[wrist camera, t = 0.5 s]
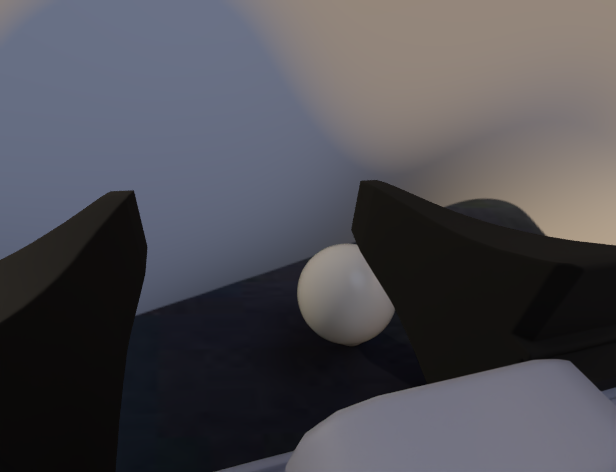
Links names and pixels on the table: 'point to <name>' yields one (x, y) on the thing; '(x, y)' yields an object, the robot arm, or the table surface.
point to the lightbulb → (343, 296)
